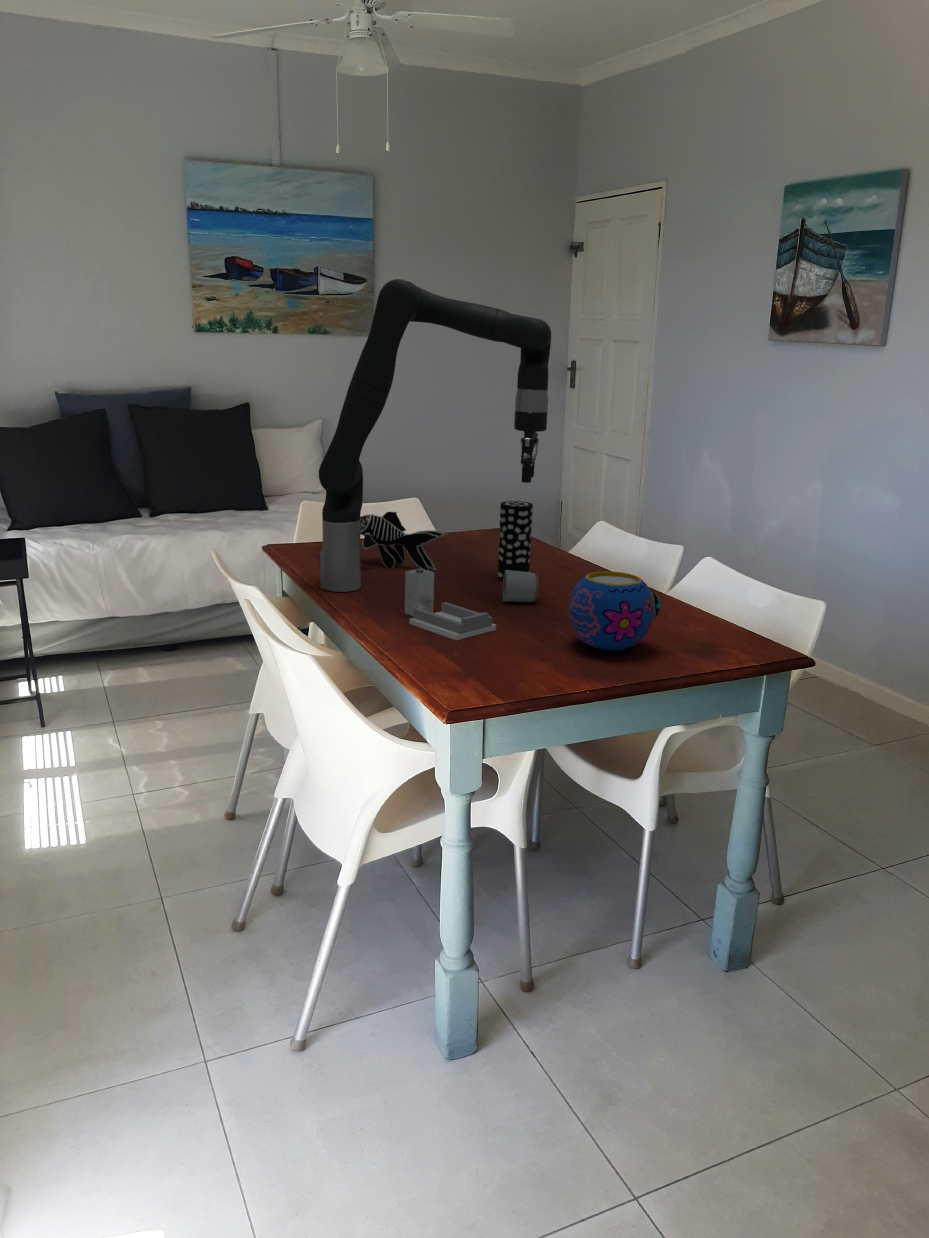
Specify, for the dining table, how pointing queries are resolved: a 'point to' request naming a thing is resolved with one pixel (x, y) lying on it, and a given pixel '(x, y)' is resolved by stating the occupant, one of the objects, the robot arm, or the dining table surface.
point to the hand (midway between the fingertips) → (527, 479)
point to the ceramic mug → (520, 586)
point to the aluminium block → (419, 590)
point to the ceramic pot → (612, 610)
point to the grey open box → (453, 621)
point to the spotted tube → (514, 537)
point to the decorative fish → (396, 540)
